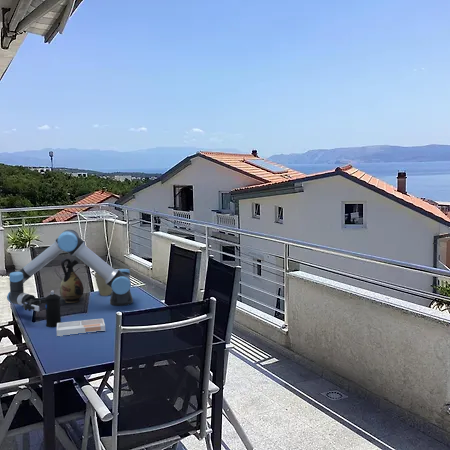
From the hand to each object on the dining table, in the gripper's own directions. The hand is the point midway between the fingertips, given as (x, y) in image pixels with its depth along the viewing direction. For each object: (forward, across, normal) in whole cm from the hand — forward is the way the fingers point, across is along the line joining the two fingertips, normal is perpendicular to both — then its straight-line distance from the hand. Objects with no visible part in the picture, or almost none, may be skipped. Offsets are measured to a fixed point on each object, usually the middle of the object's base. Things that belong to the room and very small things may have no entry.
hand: (49, 305), depth 260 cm
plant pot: (-22, -63, -11) cm, 68 cm away
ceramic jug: (-28, -37, -11) cm, 48 cm away
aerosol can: (+3, 0, -11) cm, 11 cm away
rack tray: (+23, -3, -11) cm, 26 cm away
